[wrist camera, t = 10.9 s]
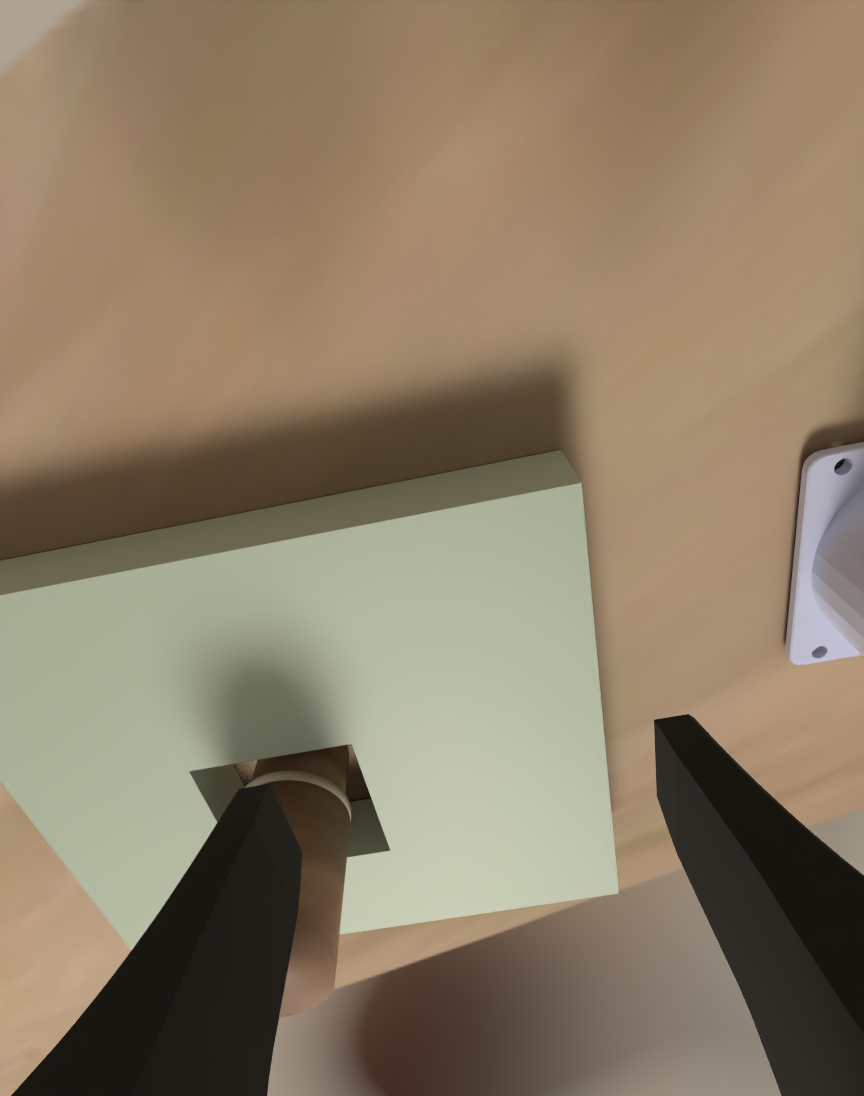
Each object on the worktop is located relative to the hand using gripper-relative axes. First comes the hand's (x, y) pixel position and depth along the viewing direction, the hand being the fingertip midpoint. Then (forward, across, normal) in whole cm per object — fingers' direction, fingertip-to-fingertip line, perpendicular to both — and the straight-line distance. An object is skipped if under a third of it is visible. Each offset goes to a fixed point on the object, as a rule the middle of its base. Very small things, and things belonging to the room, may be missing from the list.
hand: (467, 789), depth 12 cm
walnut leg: (+9, +7, +8) cm, 14 cm away
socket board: (+9, +6, +6) cm, 13 cm away
